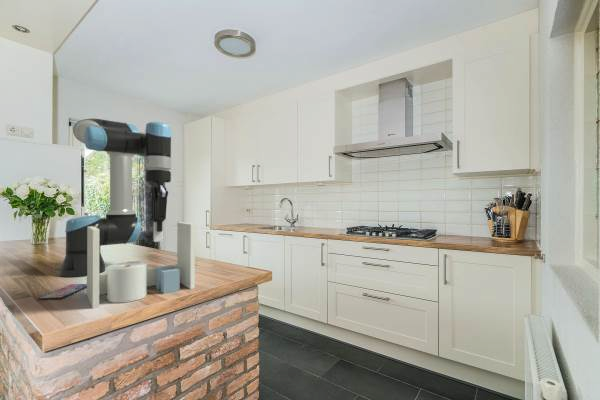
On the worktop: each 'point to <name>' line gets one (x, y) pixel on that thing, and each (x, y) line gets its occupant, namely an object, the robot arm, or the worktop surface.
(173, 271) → the paddle block
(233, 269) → the worktop surface
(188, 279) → the panel frame
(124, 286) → the toilet tissue
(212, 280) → the worktop surface
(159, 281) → the paddle block
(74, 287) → the smartphone
